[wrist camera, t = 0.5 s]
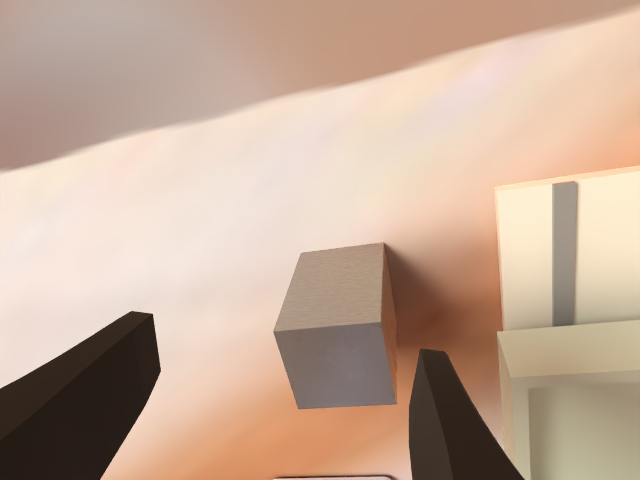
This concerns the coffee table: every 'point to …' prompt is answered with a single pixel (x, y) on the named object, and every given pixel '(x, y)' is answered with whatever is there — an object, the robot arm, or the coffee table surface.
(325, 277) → the part block
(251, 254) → the coffee table surface
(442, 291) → the coffee table surface
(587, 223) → the rail board
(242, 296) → the coffee table surface
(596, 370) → the mint green storage bin
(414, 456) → the robot arm
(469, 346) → the coffee table surface
